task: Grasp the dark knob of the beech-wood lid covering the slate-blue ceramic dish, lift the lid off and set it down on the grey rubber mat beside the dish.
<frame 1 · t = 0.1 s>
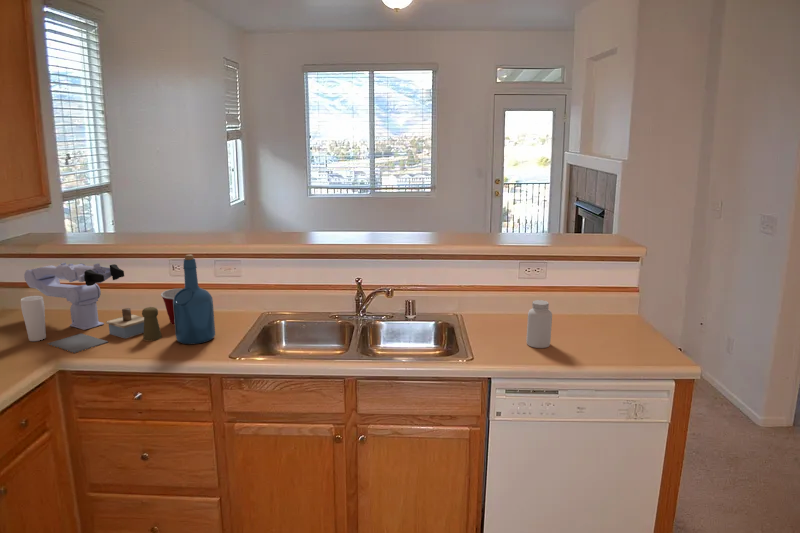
hand: (113, 275, 212), 22 cm above the worktop, tool horizontal, fingers open, 7 cm apart
plastic cup: (178, 323, 230), on the worktop
wine bottle: (195, 339, 212), on the worktop
dish: (128, 332, 219), on the worktop
lid: (127, 322, 218), point 4 cm above the worktop, touching dish
olive green shaker: (152, 338, 213), on the worktop
mat: (77, 343, 208), on the worktop
drinking glass: (37, 339, 212), on the worktop
pill bottle: (538, 345, 206), on the worktop
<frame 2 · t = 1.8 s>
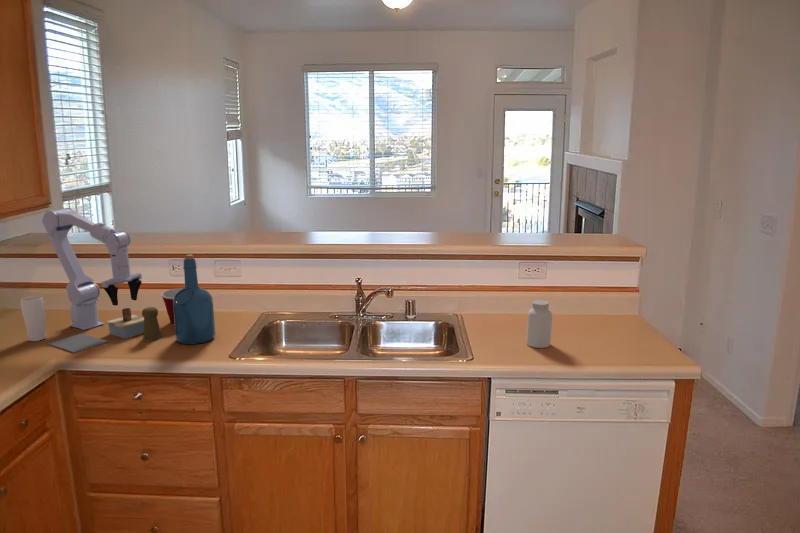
hand: (124, 302, 219), 11 cm above the worktop, tool pointing down, fingers open, 7 cm apart
nothing on the worktop moved.
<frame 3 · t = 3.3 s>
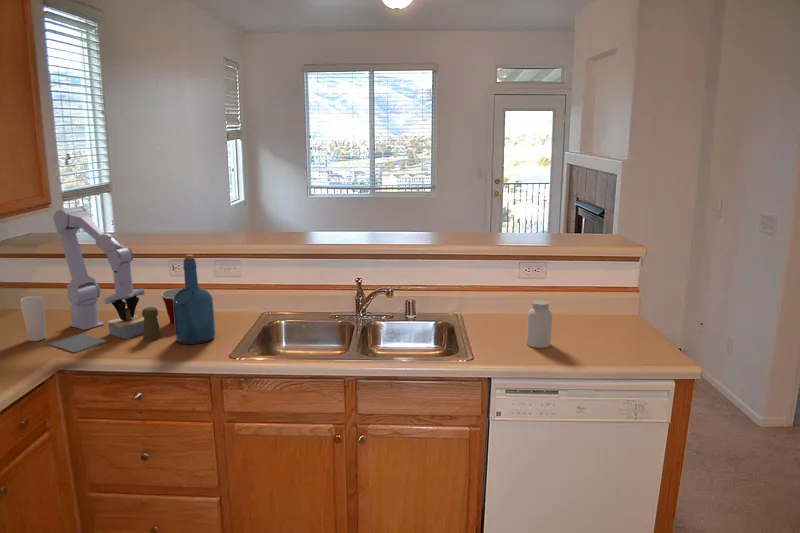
hand: (127, 318, 217), 5 cm above the worktop, tool pointing down, fingers closed on lid, 3 cm apart
lid: (127, 322, 218), point 4 cm above the worktop, touching dish, gripper
everything else where it was.
when the fingers open (3 cm above the worktop, at t = 6.6 s): lid drops 1 cm, resting on mat.
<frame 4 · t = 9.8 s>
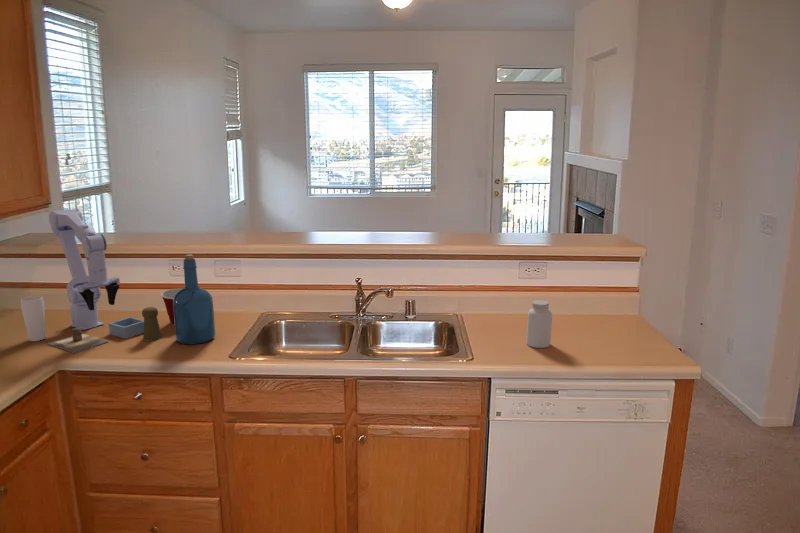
hand: (101, 307, 214), 10 cm above the worktop, tool pointing down, fingers open, 7 cm apart
lid: (78, 342, 208), resting on mat
everything else where it was.
at the end: lid inside the target area on the mat (0.1 cm from its centre), point 0.4 cm above the mat's base; lid touching mat; the gripper is holding nothing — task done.
